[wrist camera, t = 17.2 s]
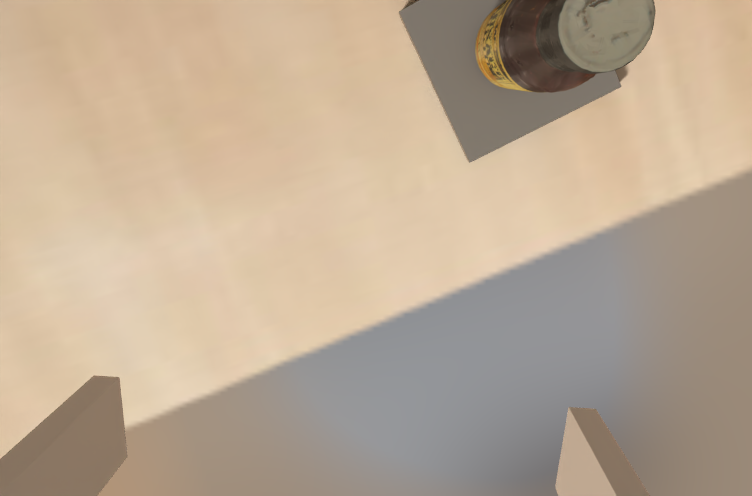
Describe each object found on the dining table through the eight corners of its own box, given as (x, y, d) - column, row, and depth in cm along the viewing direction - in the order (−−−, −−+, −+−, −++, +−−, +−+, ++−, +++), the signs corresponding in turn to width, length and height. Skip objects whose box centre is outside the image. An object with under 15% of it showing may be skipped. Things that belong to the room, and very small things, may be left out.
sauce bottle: (479, 0, 40) (549, -91, 21) (561, 9, 39) (708, -73, 20) (465, 89, 41) (517, 82, 22) (543, 98, 41) (663, 99, 22)
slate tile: (398, 14, 41) (398, 11, 40) (553, -74, 39) (558, -79, 38) (467, 161, 44) (469, 162, 43) (615, 87, 42) (621, 86, 41)
